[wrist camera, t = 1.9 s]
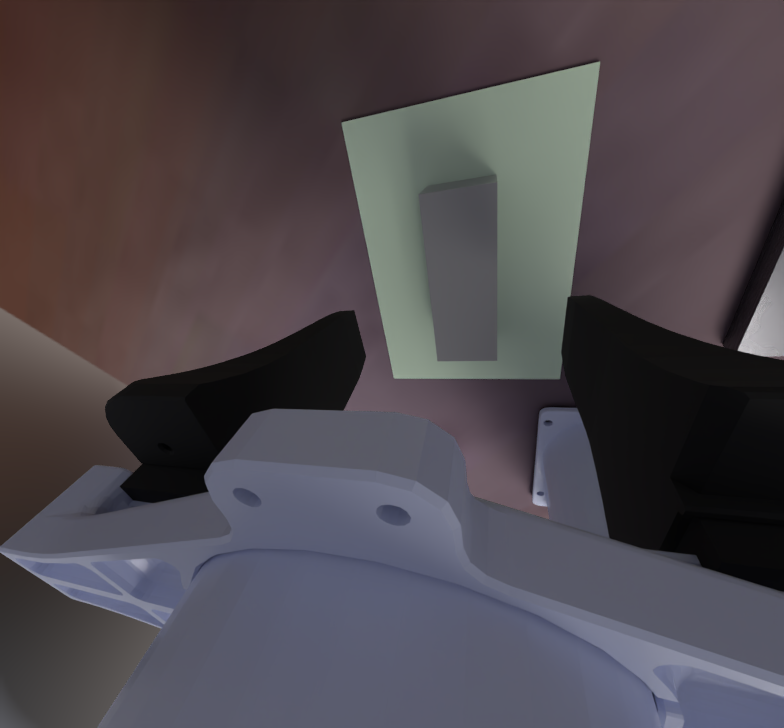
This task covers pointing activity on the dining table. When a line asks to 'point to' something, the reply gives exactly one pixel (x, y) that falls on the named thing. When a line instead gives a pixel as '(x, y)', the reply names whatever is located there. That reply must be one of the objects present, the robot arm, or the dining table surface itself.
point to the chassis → (763, 301)
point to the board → (527, 213)
